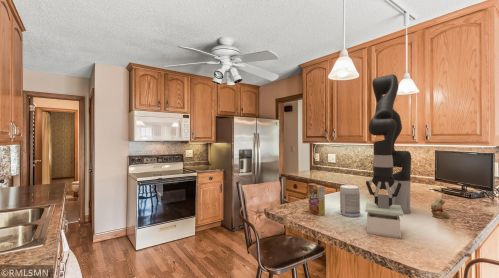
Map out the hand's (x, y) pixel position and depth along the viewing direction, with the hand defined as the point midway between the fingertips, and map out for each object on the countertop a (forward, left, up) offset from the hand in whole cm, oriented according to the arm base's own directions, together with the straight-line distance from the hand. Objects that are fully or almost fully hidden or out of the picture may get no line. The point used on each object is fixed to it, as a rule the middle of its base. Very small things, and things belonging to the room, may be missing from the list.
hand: (383, 205), depth 105 cm
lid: (0, 0, -2) cm, 2 cm away
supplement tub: (-19, -15, -11) cm, 27 cm away
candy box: (-13, -31, -11) cm, 35 cm away
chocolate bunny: (-35, +26, -11) cm, 45 cm away
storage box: (0, 0, -11) cm, 11 cm away
